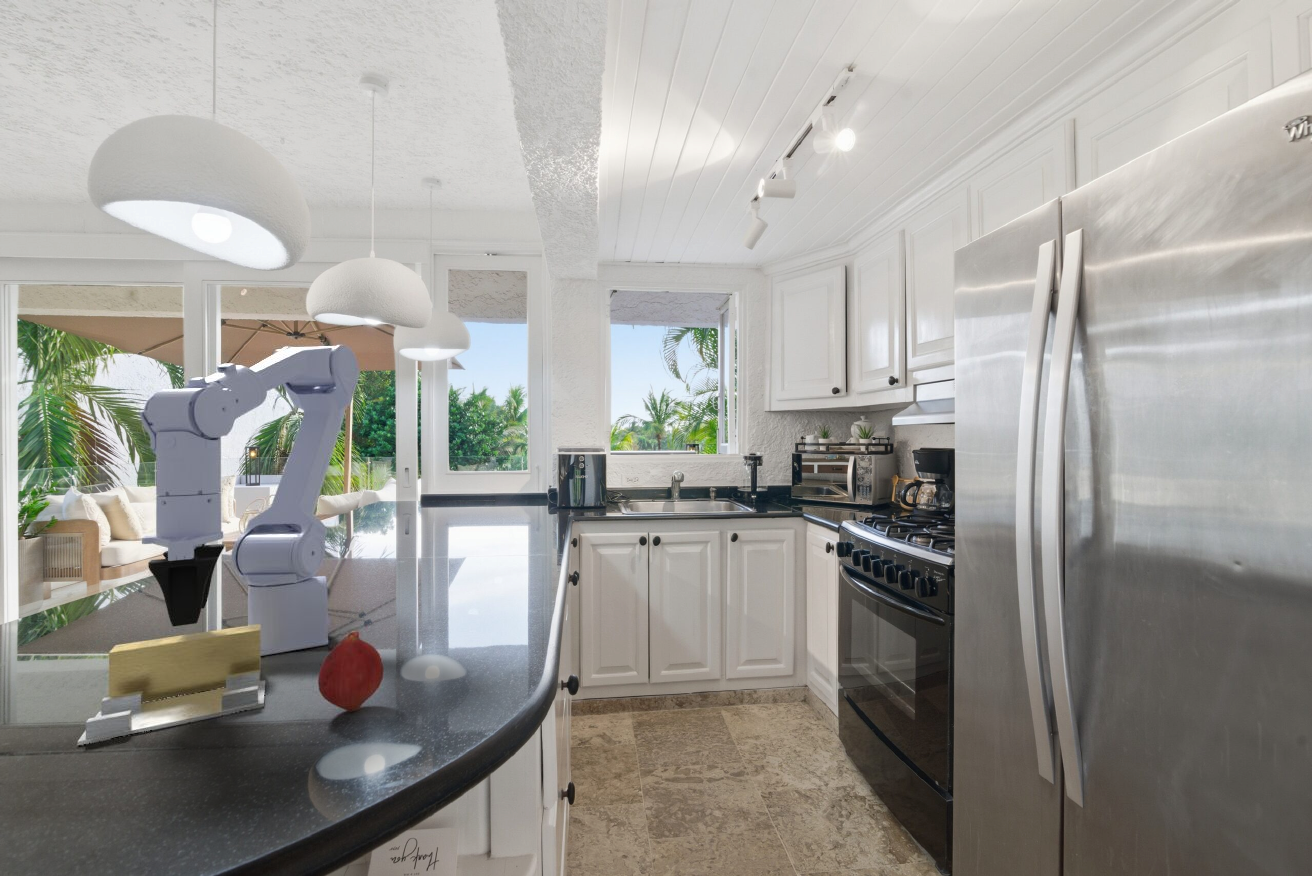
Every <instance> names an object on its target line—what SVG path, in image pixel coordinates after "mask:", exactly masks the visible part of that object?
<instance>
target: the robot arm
mask: <svg viewBox="0 0 1312 876" xmlns="http://www.w3.org/2000/svg"><path fill="white" fill-rule="evenodd" d="M358 364H359V363H358V360H357V356H356V355H355V353H354V351H353V350H352V349H351V348H350V347H349V346H348V345H346V344H337V345H323V346H322V345H321V346H292V345H291V346H284V347H283V348H279V349H275V350H274V353H273V354H272V355H271V356H268V357H266V358H265V359H263V360H261V361H260V362H258V363H256V364H254V365H252V366H250V367H248V366H245V365H236V364H235V363H223V364H220V365H218V366H217V367H216V369H217V372H215V373H212V374H210V375H207V376H205V377H194V378H191V379H189V380H188V384H186V385H185V386H184V387H183V388H168V389H167V388H165V389H161V390H159V391H156V393H154V394H153V395H152V396H151V397H150V398H149V399H148V400H147V401H146V402H145V406H144V409H143V411H140V412H139V417H140V422H141V424H142V427H143V428H144V430H145V431H146V432H147V434H148V436H149V438H150V439H149V440H150V450H152V452H153V454H155V461H156V462H155V466H156V467H155V468H156V469H155V471H156V473H155V474H156V475H155V477H156V478H155V479H156V480H155V483H156V484H155V485H156V488H155V490H156V491H155V495H156V496H155V497H156V498H155V499H156V500H155V501H156V506H155V508H156V509H155V518H156V519H155V528H156V529H155V534H156V535H147V536H143V537H141V544H142V545H152V544H153V545H156V546H160V547H164V548H167V551H164V552H163V553H162V555H163V557H164V558H159V559H151V560H150V561H149V562H148V565H147V566H148V569H149V571H150V572H151V574H152V575H153V577H154V578H155V580H156V581H157V583H158V585H159V587H160V589H161V592H162V595H163V599H164V602H165V606H166V610H167V615H168V618H169V621H170V624H171V626H172V627H180V626H181V627H182V626H187V625H188V626H189V625H194V624H198V622H199V619H200V616H201V611H202V609H205V607H206V605H207V602H208V599H209V592H210V588H211V584H212V578H213V574H214V570H215V567H216V564H217V562H218V560H219V557H221V556H220V555H221V553H222V552H223V550H224V549H225V544H223V543H219V544H217V543H216V544H215V543H214V544H207V543H212V542H216V541H219V540H222V539H223V538H224V531H223V530H222V497H221V496H222V490H221V489H222V486H221V484H222V483H221V482H222V480H221V479H222V473H221V472H222V466H221V465H222V464H221V460H222V455H221V453H222V452H221V451H222V449H221V448H222V447H221V446H222V443H221V442H222V441H221V440H222V437H225V436H226V437H227V436H228V435H229V433H230V432H231V431H232V429H233V426H234V423H235V421H236V420H237V419H238V418H240V417H242V416H244V415H245V414H247V413H248V412H251V411H253V410H255V409H256V408H258V407H259V406H261V405H263V403H264V402H265V401H266V399H267V396H268V391H271V390H273V389H275V388H278V387H280V386H283V388H284V389H285V391H286V393H287V394H288V396H289V399H290V401H291V403H292V404H293V405H294V406H295V407H296V408H299V409H301V410H302V411H303V412H304V413H303V416H302V418H301V419H302V420H301V422H300V424H299V427H298V430H297V432H296V435H295V439H294V441H293V445H292V447H291V450H290V452H289V455H288V458H287V461H286V464H285V466H284V469H283V472H282V475H281V478H280V480H279V484H278V486H277V488H276V491H275V494H274V497H273V500H272V503H271V504H270V507H268V508H267V509H265V510H264V511H262V512H260V513H259V514H257V515H255V516H254V517H252V518H251V519H250V520H249V521H248V522H247V525H246V528H245V530H244V532H243V533H242V534H241V535H240V536H239V537H238V538H237V540H235V543H234V544H233V547H232V550H231V554H230V560H231V567H232V569H233V570H234V572H235V574H236V575H237V576H239V577H240V578H242V579H241V581H242V584H244V585H247V626H249V625H256V624H261V657H262V656H269V655H273V654H279V653H285V652H292V651H296V650H302V649H308V648H309V649H310V648H315V647H321V646H327V645H328V644H329V636H328V635H329V632H328V631H329V629H330V626H331V624H330V623H331V622H330V621H331V620H330V615H328V613H329V612H328V611H329V610H328V607H329V606H328V583H327V581H328V580H327V577H326V576H325V575H318V576H316V574H317V573H318V571H319V570H320V569H321V567H322V566H323V563H324V561H325V558H326V539H327V533H328V529H327V528H326V526H325V524H324V523H323V522H322V521H321V520H320V519H319V518H318V517H317V516H316V515H314V514H315V509H316V507H317V504H318V500H319V498H320V495H321V491H322V488H323V485H324V481H325V478H326V475H327V472H328V470H329V466H330V464H331V460H332V457H333V453H334V449H335V447H336V444H337V440H338V438H339V434H340V431H341V428H342V425H343V421H344V419H345V415H346V409H347V407H348V406H349V405H351V404H352V400H353V398H354V395H355V391H356V389H357V388H356V387H357V384H358V382H359V379H360V376H361V374H360V367H359V365H358Z"/></svg>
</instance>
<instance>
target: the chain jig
mask: <svg viewBox="0 0 1312 876" xmlns="http://www.w3.org/2000/svg"><path fill="white" fill-rule="evenodd" d="M265 689H266V680H261V678H260V670H255V671H249V672H244V673H238V674H233V675H227V676H226V688H220V689H215V690H210V691H205V692H200V693H194V694H189V695H184V696H179V697H173V698H168V699H163V700H158V701H152V702H147V703H143V691H139V692H134V693H128V694H123V695H117V696H112V697H109V696H107V697H103V698H102V700H101V701H100V711H99V712H97V714H96V715H95V716H94V717H91V718H88V719H87V720H86V722H85V730H84V732H83V733H82V735H80V737H79V739H78V740H77V746H78V745H81V746H85V745H84V744H86V745H89V743H90V744H95V743H100V742H104V741H109V740H112V739H111V738H113V737H116V736H121V735H126V734H130V733H137V732H142V733H147V732H151V731H150V730H152V731H156V730H161V729H165V728H170V727H174V726H180V725H184V724H189V722H190V723H193V722H194V723H195V722H199V721H203V720H208V719H213V718H218V717H222V715H223V716H227V715H232V714H231V713H233V714H236V713H235V712H237V713H240V712H239V711H242V712H245V711H244V710H247V711H251V709H252V710H256V709H260V708H261V709H262V708H264V707H265V696H266V695H265V691H266V690H265ZM264 695H265V696H264ZM144 731H145V732H144ZM146 731H147V732H146ZM99 741H100V742H99Z"/></svg>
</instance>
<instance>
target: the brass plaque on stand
mask: <svg viewBox="0 0 1312 876" xmlns="http://www.w3.org/2000/svg"><path fill="white" fill-rule="evenodd" d="M255 670H260V679H261V678H262V677H261V675H262V656H261V624H256V625H249V626H248V625H244V626H237V627H229V628H223V629H217V630H210V631H203V632H196V633H188V634H182V635H181V634H180V635H175V636H169V637H163V638H155V639H149V640H142V641H135V642H129V643H128V642H127V643H122V644H115V645H114V646H113V647H112V649H110V651H109V652H108V697H112V696H117V695H123V694H128V693H134V692H139V691H143V702H146V701H152V702H153V700H159V699H164V698H167V697H173V696H178V695H179V696H180V695H184V694H189V693H194V694H195V692H199V691H206V690H210V691H211V690H213V689H215V690H216V689H217V688H220V689H221V688H222V687H226V676H227V675H233V674H238V673H244V672H249V671H255ZM189 695H190V694H189ZM173 698H174V697H173Z"/></svg>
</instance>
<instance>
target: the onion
mask: <svg viewBox="0 0 1312 876" xmlns="http://www.w3.org/2000/svg"><path fill="white" fill-rule="evenodd" d="M359 635H360V633H359V631H358V630H352V631H350V632H349V633H348V634H347V636H346V637H344V638H343V639H342V640H341V641H340V642H339V643H338V644H337V645H335V646H334V647H332V649H331V650H330V651H329V652H328V654H327V655H326V656H325V658H324V659H323V662H322V664H321V666H320V669H319V674H318V682H317V684H318V691H319V693H320V694H321V696H322V697H323V699H324V700H326V701H327V702H328V703H330V704H332V705H333V706H335V707H338V708H340V709H342V710H345V711H346V712H356V711H358V710H359V709H360V708H361V707H362V705H363V704H364V703H365V702H366V701H367V700H368V699H370V697H372V696H373V695H374V694H375V692H376V691H377V690H378V689H379V688H380V685H381V683H382V681H383V677H384V665H383V660H382V657H381V655H380V653H379V651H378V650H377V649H376V648H375V647H374V646H373V645H372V644H370V643H368V642H367V641H364V640H362V639H360V636H359Z"/></svg>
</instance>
